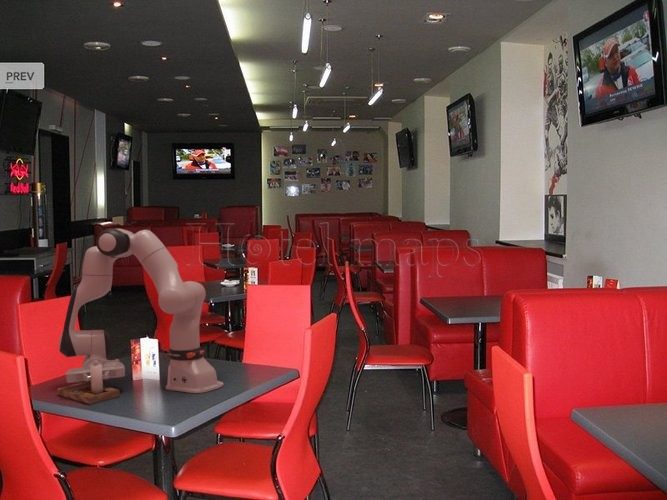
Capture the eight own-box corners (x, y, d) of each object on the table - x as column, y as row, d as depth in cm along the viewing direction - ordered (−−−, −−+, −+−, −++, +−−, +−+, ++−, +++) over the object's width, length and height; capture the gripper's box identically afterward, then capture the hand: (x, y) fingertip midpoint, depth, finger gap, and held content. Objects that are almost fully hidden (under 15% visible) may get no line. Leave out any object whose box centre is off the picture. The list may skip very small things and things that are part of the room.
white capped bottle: (102, 390, 240) (101, 359, 240) (103, 393, 237) (102, 361, 236) (91, 392, 239) (89, 360, 238) (91, 395, 235) (89, 362, 234)
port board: (119, 396, 240) (119, 388, 240) (89, 404, 230) (89, 396, 230) (87, 388, 253) (86, 380, 253) (57, 395, 243) (56, 387, 243)
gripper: (64, 364, 245) (64, 372, 233) (122, 358, 253) (125, 366, 240) (65, 381, 246) (65, 390, 233) (123, 374, 253) (126, 383, 241)
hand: (96, 378), depth 237 cm, fingers closed on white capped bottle, 4 cm apart
